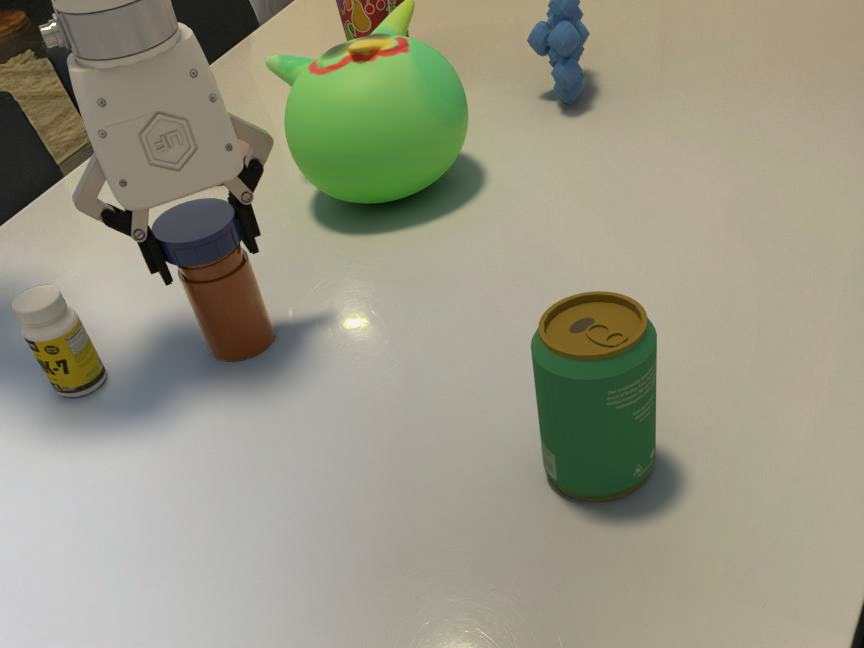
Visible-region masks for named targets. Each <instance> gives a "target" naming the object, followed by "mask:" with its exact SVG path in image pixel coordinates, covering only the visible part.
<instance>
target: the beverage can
mask: <svg viewBox="0 0 864 648" xmlns="http://www.w3.org/2000/svg"><path fill="white" fill-rule="evenodd" d="M530 351H531V352H530V353H531V362H532V371H533V380H534V381H533V382H534V389H535V398H536V399H535V400H536V408H537V409H536V410H537V417H538V426H539V427H538V428H539V436H540V445H541V457H542V464H543V468H544V470H545V471H544V472H545V473H546V475H547V476H548V477H549V478H550V480H551V481H552V482H553V484H554V485H555V487H557V488H558V489H559V490H560V491H561V492H562V493H564V494H565V495H568V496H569V497H571V498H573V499H577V500H581V501H586V502H606V501H612V500H616V499H619V498H622V497H624V496H627V495H628V494H630V493H632V492H634V491H635V490H636V489H637V488H639V487H640V486H641V485H642V484H643V482H644V481H645V479H646V478H647V476H648V474H649V473H650V472H651V470H652V469H653V466H654V464H655V461H656V449H657V447H656V446H657V441H656V439H657V374H658V373H657V372H658V371H657V370H658V369H657V363H658V361H657V359H658V333H657V329H656V327H655V326H654V324H653V322H652V321H651V320H650V318H649V317H648V314H647V311H646V310H645V307H643V305H642V304H641V303H640V302H639V301H637V300H636V299H634V298H632V297H630V296H628V295H625V294H622V293H618V292H612V291H605V290H604V291H603V290H602V291H601V290H598V291H587V292H586V291H585V292H580V293H576V294H573V295H569V296H566V297H564V298H562V299H560V300H558V301H556V302H555V303H553V304H552V305H550V307H548V308H547V309H546V310H545V311H544V312H543V314H542V315H541V316H540V319H539V321H538V326H537V329H536V330H535V332H534V334H533V335H532V338H531V341H530Z"/></svg>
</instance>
